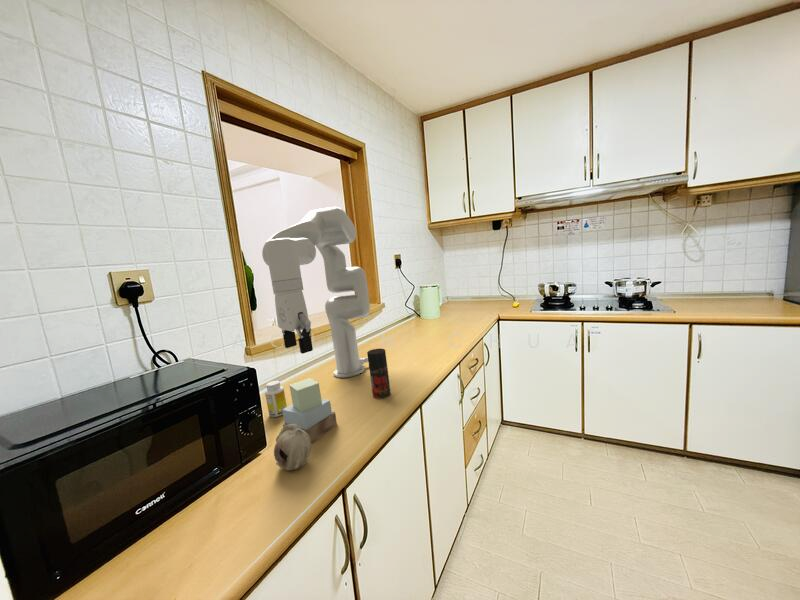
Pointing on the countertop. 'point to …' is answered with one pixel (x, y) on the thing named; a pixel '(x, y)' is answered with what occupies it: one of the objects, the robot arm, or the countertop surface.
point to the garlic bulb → (292, 447)
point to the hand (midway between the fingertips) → (298, 349)
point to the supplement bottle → (275, 398)
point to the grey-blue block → (307, 415)
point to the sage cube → (305, 394)
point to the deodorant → (379, 373)
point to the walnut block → (320, 427)
